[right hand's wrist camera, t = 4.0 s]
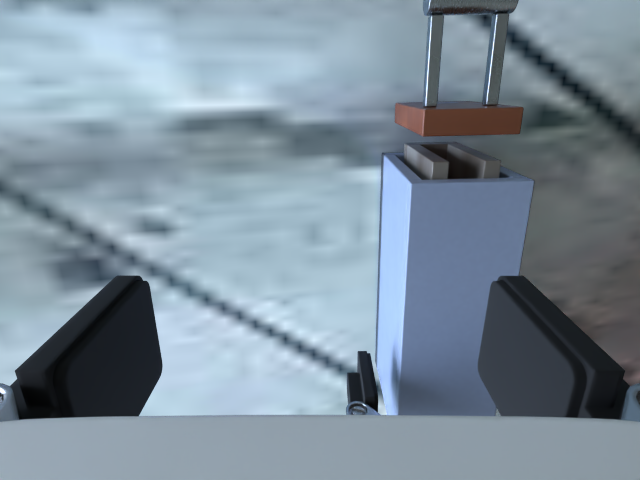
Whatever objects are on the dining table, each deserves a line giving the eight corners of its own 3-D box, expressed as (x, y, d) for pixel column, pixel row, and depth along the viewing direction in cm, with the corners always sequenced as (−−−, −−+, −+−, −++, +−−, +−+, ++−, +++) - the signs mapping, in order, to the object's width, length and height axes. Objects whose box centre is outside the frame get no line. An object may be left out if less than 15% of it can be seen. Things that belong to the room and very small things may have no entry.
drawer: (399, 4, 23) (433, -28, 17) (478, 2, 23) (544, -31, 17) (386, 321, 31) (405, 387, 24) (446, 320, 31) (482, 386, 24)
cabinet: (381, 152, 27) (410, 183, 19) (468, 150, 27) (535, 180, 19) (375, 360, 33) (395, 454, 25) (446, 359, 33) (490, 451, 25)
